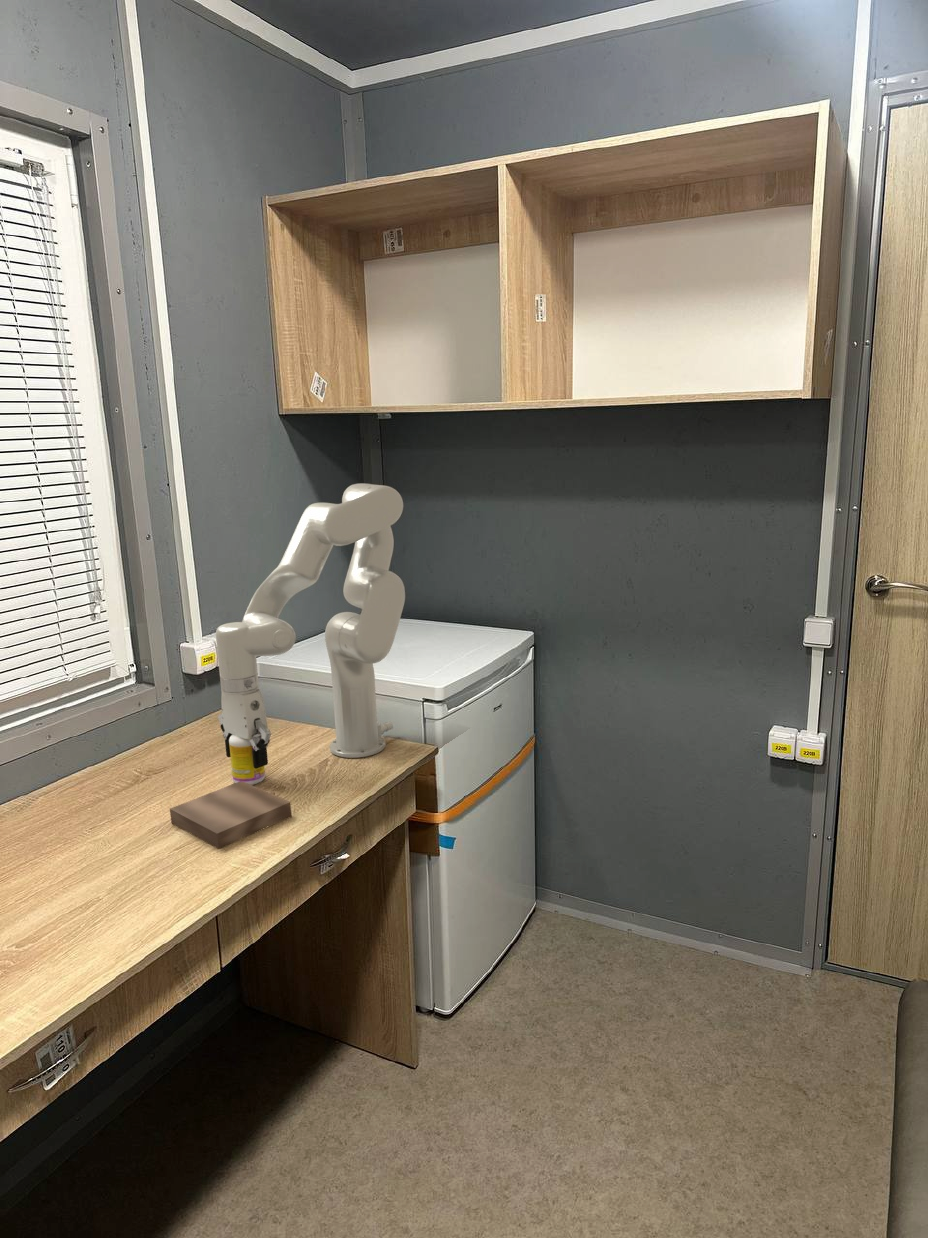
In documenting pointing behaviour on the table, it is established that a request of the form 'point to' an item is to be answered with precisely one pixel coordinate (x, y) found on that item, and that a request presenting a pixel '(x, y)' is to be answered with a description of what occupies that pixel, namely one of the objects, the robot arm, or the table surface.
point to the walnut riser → (230, 813)
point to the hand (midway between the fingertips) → (247, 760)
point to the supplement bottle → (244, 761)
